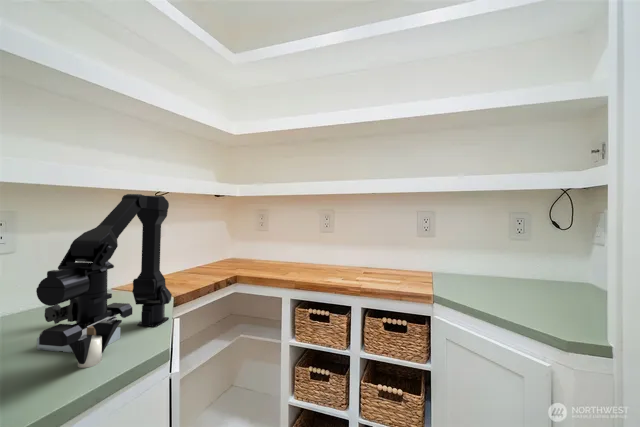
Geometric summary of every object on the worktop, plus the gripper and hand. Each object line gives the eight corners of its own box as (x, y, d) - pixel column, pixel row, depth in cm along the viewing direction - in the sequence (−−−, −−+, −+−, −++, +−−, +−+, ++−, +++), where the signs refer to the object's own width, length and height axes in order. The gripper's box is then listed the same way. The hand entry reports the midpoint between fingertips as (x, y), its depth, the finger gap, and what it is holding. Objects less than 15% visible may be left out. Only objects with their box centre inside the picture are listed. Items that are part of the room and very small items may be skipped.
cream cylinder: (88, 357, 70) (88, 334, 70) (106, 358, 70) (106, 335, 70) (72, 367, 66) (72, 343, 66) (91, 368, 66) (92, 343, 66)
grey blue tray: (71, 334, 82) (71, 323, 82) (120, 338, 81) (120, 327, 81) (37, 349, 73) (37, 337, 73) (91, 354, 72) (91, 342, 72)
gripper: (95, 280, 78) (95, 338, 78) (15, 302, 59) (14, 378, 59) (134, 282, 76) (133, 341, 77) (64, 305, 58) (63, 383, 58)
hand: (91, 358), depth 68 cm, fingers closed on cream cylinder, 4 cm apart
